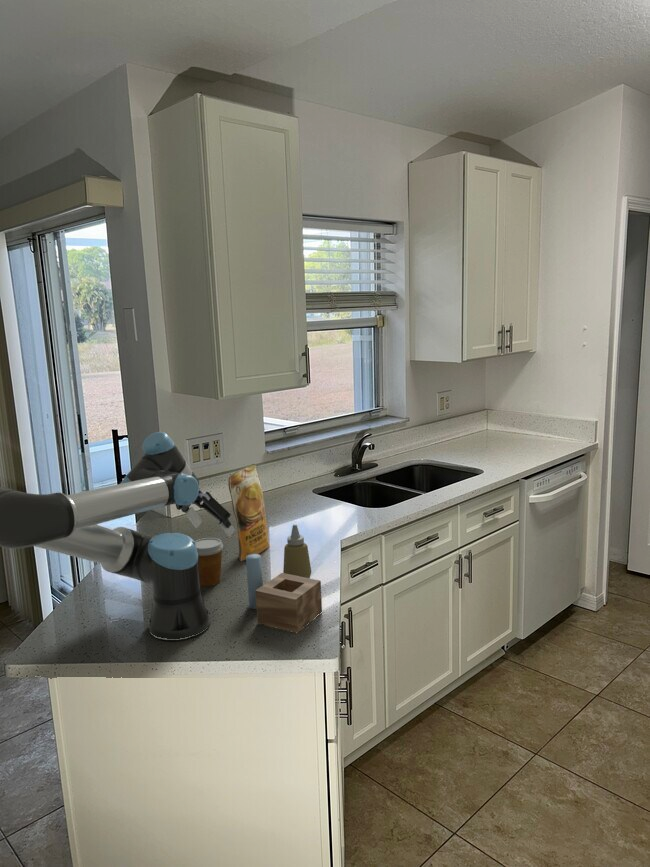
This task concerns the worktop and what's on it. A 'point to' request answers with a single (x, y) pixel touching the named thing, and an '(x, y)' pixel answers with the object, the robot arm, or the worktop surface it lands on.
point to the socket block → (288, 602)
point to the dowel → (253, 577)
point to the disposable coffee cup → (209, 560)
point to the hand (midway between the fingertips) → (214, 528)
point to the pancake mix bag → (249, 511)
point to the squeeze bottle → (296, 555)
